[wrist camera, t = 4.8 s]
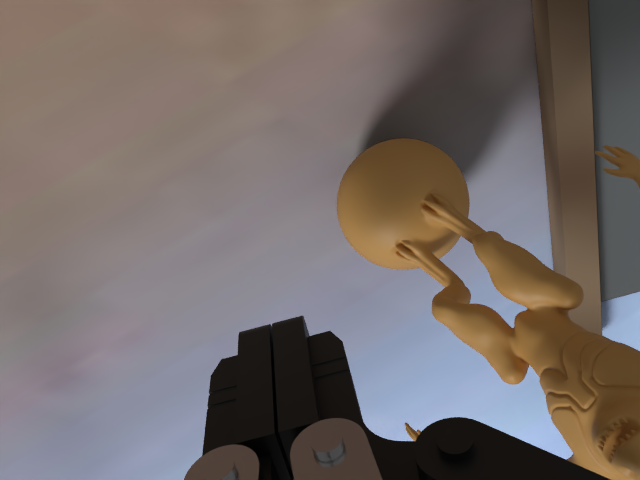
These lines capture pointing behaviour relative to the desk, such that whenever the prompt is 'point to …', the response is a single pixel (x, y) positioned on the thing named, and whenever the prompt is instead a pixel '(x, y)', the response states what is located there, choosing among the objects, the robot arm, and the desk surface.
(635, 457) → the figurine
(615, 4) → the mat
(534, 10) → the bar
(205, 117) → the desk surface
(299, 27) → the desk surface
